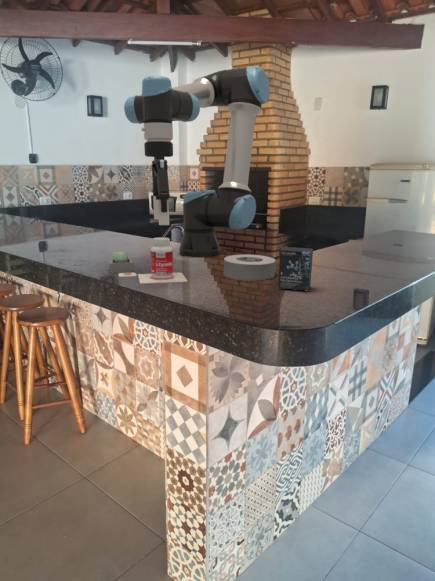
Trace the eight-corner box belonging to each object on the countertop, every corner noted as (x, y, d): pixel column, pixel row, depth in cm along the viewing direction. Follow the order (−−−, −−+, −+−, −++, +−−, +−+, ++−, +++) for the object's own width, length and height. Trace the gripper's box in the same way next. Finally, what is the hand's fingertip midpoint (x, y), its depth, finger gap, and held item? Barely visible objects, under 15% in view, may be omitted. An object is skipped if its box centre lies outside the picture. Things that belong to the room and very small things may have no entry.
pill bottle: (154, 280, 122) (153, 240, 119) (149, 275, 128) (147, 237, 125) (176, 278, 124) (175, 239, 122) (169, 273, 130) (168, 236, 127)
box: (277, 289, 115) (279, 249, 112) (281, 284, 120) (283, 246, 117) (308, 292, 113) (310, 251, 110) (310, 287, 118) (313, 247, 115)
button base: (132, 267, 140) (132, 258, 139) (133, 272, 133) (133, 262, 133) (110, 268, 138) (109, 259, 138) (109, 273, 132) (109, 263, 131)
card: (135, 273, 132) (135, 272, 132) (136, 276, 128) (136, 275, 128) (118, 274, 131) (118, 272, 131) (118, 277, 127) (118, 275, 127)
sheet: (181, 273, 133) (181, 272, 133) (187, 281, 122) (187, 280, 122) (137, 275, 130) (137, 273, 130) (140, 284, 119) (140, 282, 119)
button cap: (127, 263, 138) (127, 251, 137) (128, 266, 134) (127, 253, 133) (114, 264, 137) (114, 251, 136) (114, 266, 133) (114, 253, 132)
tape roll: (285, 275, 132) (286, 259, 131) (252, 284, 121) (252, 266, 120) (246, 268, 142) (246, 252, 141) (212, 275, 132) (212, 258, 131)
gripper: (141, 143, 127) (144, 217, 133) (147, 138, 104) (151, 228, 110) (167, 143, 129) (169, 216, 135) (179, 138, 106) (181, 227, 111)
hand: (161, 222), depth 122 cm, fingers open, 13 cm apart
